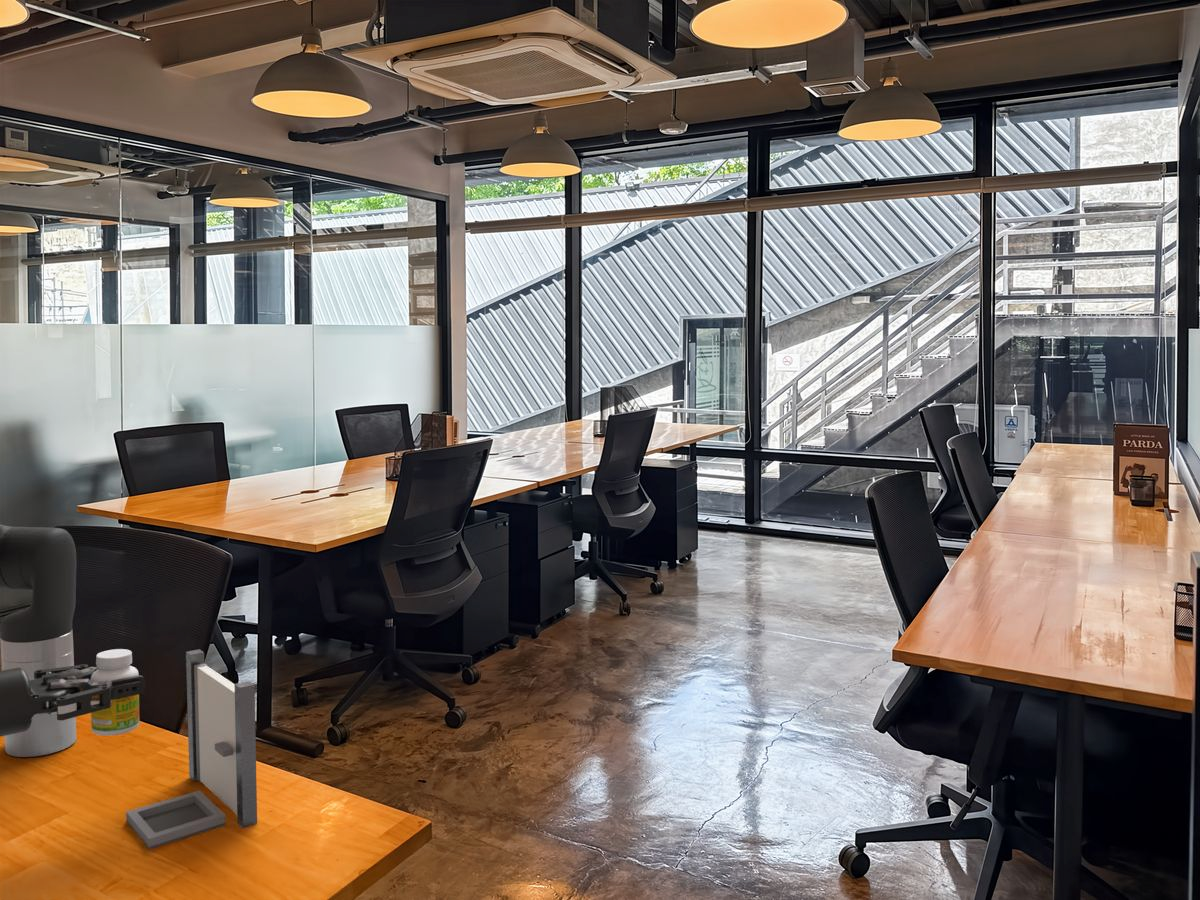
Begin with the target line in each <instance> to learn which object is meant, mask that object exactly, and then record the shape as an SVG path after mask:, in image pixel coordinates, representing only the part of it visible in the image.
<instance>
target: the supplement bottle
mask: <svg viewBox="0 0 1200 900" xmlns="http://www.w3.org/2000/svg"><path fill="white" fill-rule="evenodd" d="M95 658H96V659H95V667H97V670H96V671H95V672H94V673H93V674H92V676H91V682H103V681H112V680H117V679H123V678H128V677H133V676H139V670H138V669H137V667H134V666H132V665H131V664H133V651H131V650H129V649H127V648H126V649H124V648H115V649H109V650H104V651H101V652H98V653H97V654H96V657H95ZM98 668H99V669H98ZM98 697H99V695H95V696H92V698H98ZM112 700H113V699H112ZM90 714H91V716H90V719H91V722H90V723H91V726H90V727H91V728H90V729H91V732H92V733H93V734H95V735H96V736H97V735H98V736H105V737H107V736H108V737H109V736H118V735H124V734H127V733H129V732H132V731H134V730H135V729H136V728H138V727H139V724H140V694H139V695H134V696H129V697H124V698H119V699H114V700H113V701H112V702H111V707H110V708H107V709H103V710H100V711H96V712H92V713H90Z"/></svg>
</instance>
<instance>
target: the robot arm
mask: <svg viewBox="0 0 1200 900" xmlns="http://www.w3.org/2000/svg"><path fill="white" fill-rule="evenodd" d="M0 588H1V589H2V588H3V589H7V590H27V591H28V590H29V591H30V590H32V597H31V604H30V606H28V607H26V608H24V609H20V610H18V611H15V612H12V613H10V614H8V615H6V616H4V617H3V618H2V619H1V620H0V657H1V660H0V661H1V670H0V737H4V749H5V753H6V754H7V755H9V756H12V757H17V758H21V757H22V758H28V757H29V758H30V757H39V756H44V755H49V754H54V753H57V752H60V751H62V750H65V749H66V748H69V747H71V746H72V745H73V744H74V743H76V741H77V720H76V719H77V717H80V716H84V715H87V714H91V713H92V712H96V711H100V710H103V709H107V708H110V707H111V702H112V701H113V700H114V699H119V698H124V697H129V696H134V695H139V696H140V695H143V694H144V693H145V691H146V678H145V677H144V676H143V675H139V676H133V677H128V678H123V679H117V680H112V681H103V682H91V676H92V674H93V673H94V672H95V671H96V670H98V669H99V668H98V667H97V666H90V667H89V665H88V664H79V665H78V664H77V665H75V661H74V659H75V657H74V656H75V655H74V654H75V653H74V635H73V633H74V632H73V619H74V614H75V610H76V602H77V601H76V597H77V594H76V593H77V592H76V589H77V549H76V545H75V541H74V538H73V536H72V535H71V534H70V533H69V531H68V530H66V529H64V528H60V527H46V526H45V527H42V526H39V527H35V526H34V527H33V526H9V525H4V524H1V523H0ZM95 695H99V697H98V698H92V696H95ZM112 699H113V700H112Z"/></svg>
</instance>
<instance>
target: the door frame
mask: <svg viewBox="0 0 1200 900" xmlns="http://www.w3.org/2000/svg"><path fill="white" fill-rule="evenodd" d="M185 660H186V661H185V662H186V663H185V667H186V700H187V701H186V702H187V705H186V706H187V734H188V735H187V736H188V737H187V739H188V740H187V742H188V743H187V744H188V771H189V772H188V773H189V774H188V777H189V779H191V781H192V782H197V781H199V780H197V759H196V719H195V680H194V665H197V664H205V652H204V651H203V650H201V649H195V650H189V651H185ZM233 684H234V687H235V733H236V779H237V814H236V817H237V818H236V819H237V824H238V825H239V826H240V827H241V828H242V829H245V828H248V827H250V826H254V825H258V798H257V797H258V796H257V791H258V790H257V748H256V746H257V745H256V743H257V742H256V741H257V740H256V739H257V738H256V737H257V736H256V695H255V692H256V691H255V689H256V688H255V684H254V683H253V682H251V681H249V680H247V681H246V680H245V681H242V682H237V683H233Z"/></svg>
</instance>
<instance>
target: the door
mask: <svg viewBox="0 0 1200 900" xmlns="http://www.w3.org/2000/svg"><path fill="white" fill-rule="evenodd" d="M194 680H195V719H196V759H197V780H198V781H200V782H201V783H202V784H203V785H204V786H205V787H206V788H208V789H209V790H210V791H211V792H212V793H213V795H215V796H216V797H217V798H218V799H220V801H221V802H222V803H224V805H226V806H227V807H228V808H229V809H230V810H231V811H232V812H233V813H234V814H235V815H237V779H236V733H235V687H234V684H235V683H233V682H232V681H231V680H229V679H227V678H226V677H224V676H223V675H221V674H220V673H218V672H217V671H216V670H214V669H212V668H210V667H209V666H208V664H206V663H204V664H197V665H194Z"/></svg>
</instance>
